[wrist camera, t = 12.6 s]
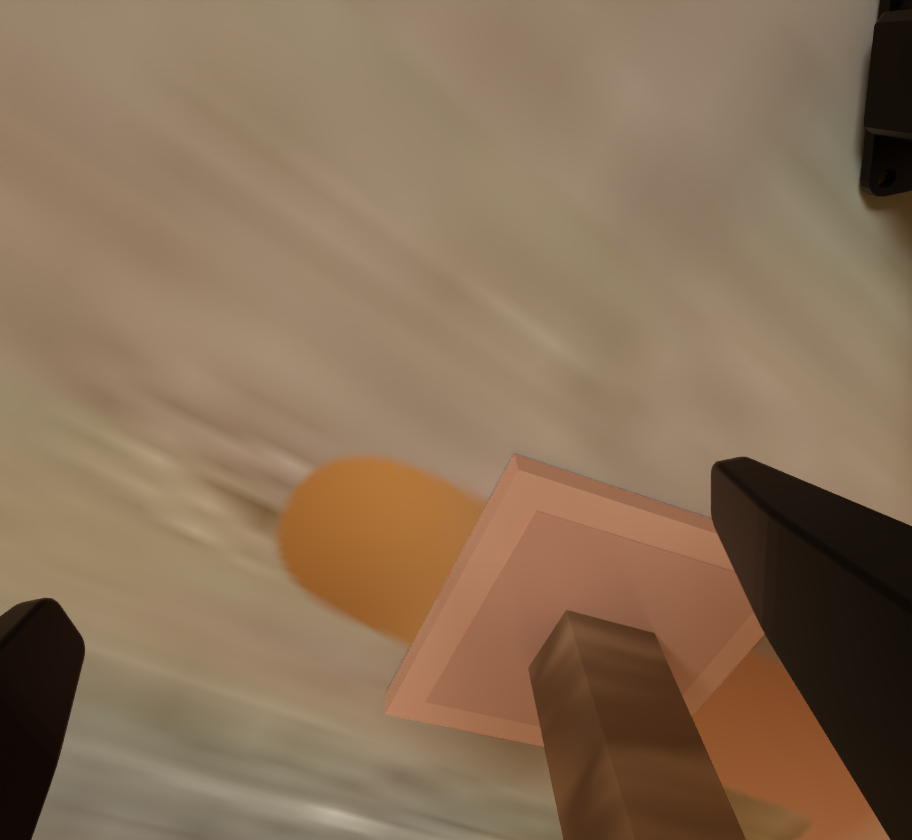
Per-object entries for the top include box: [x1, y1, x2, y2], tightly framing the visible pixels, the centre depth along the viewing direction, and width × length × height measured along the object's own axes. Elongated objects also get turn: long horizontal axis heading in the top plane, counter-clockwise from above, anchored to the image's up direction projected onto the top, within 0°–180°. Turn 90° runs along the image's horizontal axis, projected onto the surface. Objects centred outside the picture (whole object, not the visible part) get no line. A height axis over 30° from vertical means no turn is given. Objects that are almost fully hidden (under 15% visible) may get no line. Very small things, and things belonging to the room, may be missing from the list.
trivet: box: [385, 454, 765, 747], centre depth 26 cm, size 13×13×1 cm
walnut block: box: [528, 610, 746, 840], centre depth 21 cm, size 3×4×11 cm
